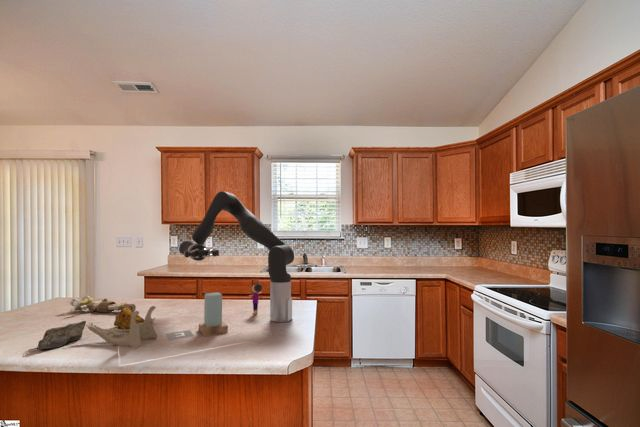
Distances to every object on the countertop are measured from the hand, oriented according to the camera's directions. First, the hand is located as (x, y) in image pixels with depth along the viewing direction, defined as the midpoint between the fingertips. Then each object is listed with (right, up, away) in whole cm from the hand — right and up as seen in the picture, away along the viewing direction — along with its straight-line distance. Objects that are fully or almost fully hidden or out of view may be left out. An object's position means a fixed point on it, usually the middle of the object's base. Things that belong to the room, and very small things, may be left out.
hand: (205, 254), depth 143 cm
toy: (+19, -31, +16) cm, 40 cm away
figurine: (-58, -31, +21) cm, 69 cm away
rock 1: (-44, -30, -23) cm, 58 cm away
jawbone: (-24, -30, -22) cm, 44 cm away
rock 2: (-31, -30, -4) cm, 43 cm away
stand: (+7, -30, -11) cm, 32 cm away
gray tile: (-5, -29, -15) cm, 33 cm away
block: (+7, -27, -10) cm, 29 cm away
